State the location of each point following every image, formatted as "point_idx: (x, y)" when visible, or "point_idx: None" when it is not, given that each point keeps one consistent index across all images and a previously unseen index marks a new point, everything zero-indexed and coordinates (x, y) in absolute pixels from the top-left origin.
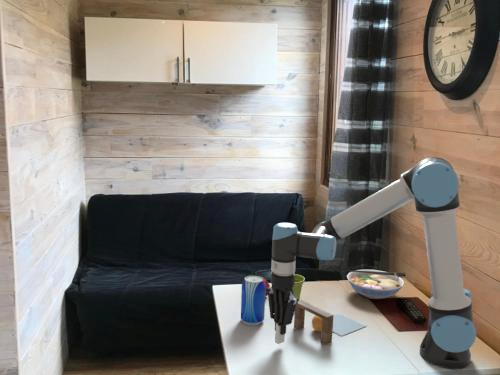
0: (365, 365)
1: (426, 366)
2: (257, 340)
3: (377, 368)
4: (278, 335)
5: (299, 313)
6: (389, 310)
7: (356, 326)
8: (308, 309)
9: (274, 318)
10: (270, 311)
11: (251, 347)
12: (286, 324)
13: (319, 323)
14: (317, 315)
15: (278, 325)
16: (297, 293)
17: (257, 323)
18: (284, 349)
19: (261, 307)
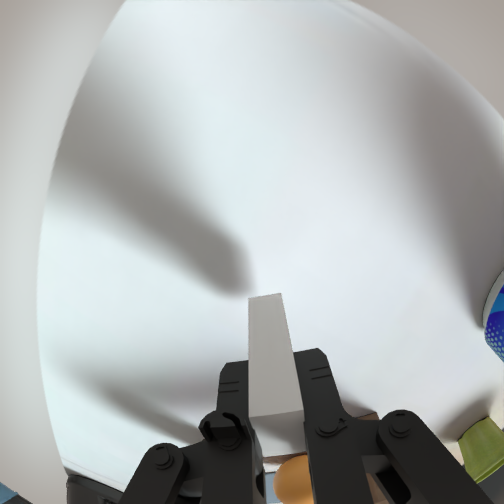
0: (70, 427)
1: (74, 469)
2: (402, 227)
3: (59, 431)
4: (249, 338)
5: (371, 478)
6: None
7: (266, 498)
8: None
9: (347, 442)
10: (442, 465)
11: (351, 143)
12: (148, 459)
13: (286, 486)
14: None
15: (229, 411)
16: (466, 454)
17: (489, 305)
18: (234, 311)
19: None
